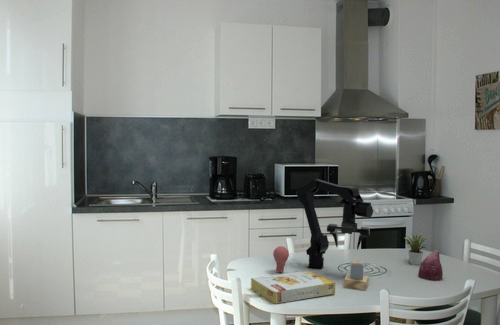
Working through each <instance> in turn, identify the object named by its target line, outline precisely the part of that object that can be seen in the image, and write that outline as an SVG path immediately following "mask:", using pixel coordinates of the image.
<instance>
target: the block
mask: <svg viewBox="0 0 500 325" xmlns="http://www.w3.org/2000/svg"><path fill="white" fill-rule="evenodd" d="M369 280H370V277H369V275H363V280H360V279H351V278H350V273H347V274H346V276H345V278H344V281H343V288H344V289H350V288H352V290H357V289H360V290H359V291H364V290H366V289H368V287H369V284H370V282H369ZM366 291H367V290H366Z"/></svg>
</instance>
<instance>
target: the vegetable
mask: <svg viewBox="0 0 500 325" xmlns="http://www.w3.org/2000/svg"><path fill="white" fill-rule="evenodd" d="M440 260H441V258H440V249H439V248H438V249H434V250H433V251H432V252H431V253H429V255H427V256H426V257H425V258H424V259H422V261H421V264H420V265H419V269H418V273H417V276H418V278H420V279H423V280H427V281H432V282H439V281H441V280H443V275H444V274H443V267H442V264H441V261H440Z"/></svg>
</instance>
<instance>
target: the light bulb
mask: <svg viewBox="0 0 500 325" xmlns="http://www.w3.org/2000/svg"><path fill="white" fill-rule="evenodd" d="M272 255H273V259H274V261H275V264H276V267H275V271H276V272H277V273H283V272H284V271H285V266H286V263H287V261H288V258H290V253H289V250H288V248H286V246H281V245H280V246H277V247H275V249H274V250H273V253H272Z"/></svg>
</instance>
